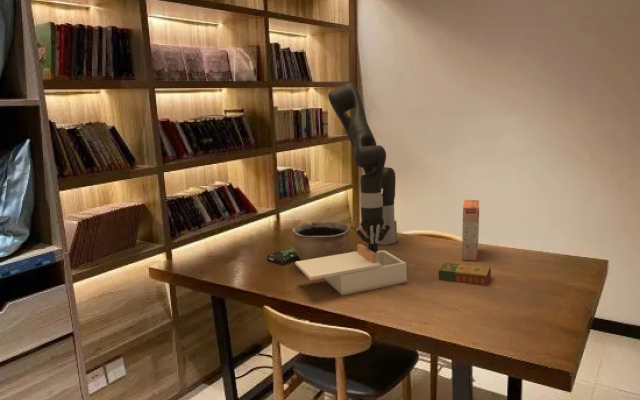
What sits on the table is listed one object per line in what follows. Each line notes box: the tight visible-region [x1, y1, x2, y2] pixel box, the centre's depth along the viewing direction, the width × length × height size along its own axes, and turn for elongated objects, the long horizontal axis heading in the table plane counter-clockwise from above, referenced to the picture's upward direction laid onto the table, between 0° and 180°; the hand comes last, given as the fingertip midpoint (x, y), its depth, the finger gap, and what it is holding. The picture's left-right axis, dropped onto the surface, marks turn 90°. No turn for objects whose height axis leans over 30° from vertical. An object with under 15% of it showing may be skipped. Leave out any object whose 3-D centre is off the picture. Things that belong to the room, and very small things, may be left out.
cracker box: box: [461, 199, 480, 262], centre depth 183 cm, size 14×6×21 cm, turn 161°
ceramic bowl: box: [292, 220, 351, 261], centre depth 182 cm, size 22×22×15 cm
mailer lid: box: [294, 243, 381, 281], centre depth 160 cm, size 25×16×4 cm, turn 110°
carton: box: [437, 261, 492, 287], centre depth 162 cm, size 8×16×4 cm, turn 62°
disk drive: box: [266, 247, 300, 267], centre depth 193 cm, size 10×3×15 cm
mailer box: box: [324, 249, 408, 296], centre depth 164 cm, size 24×16×7 cm, turn 110°
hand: (373, 253), depth 164 cm, fingers closed
